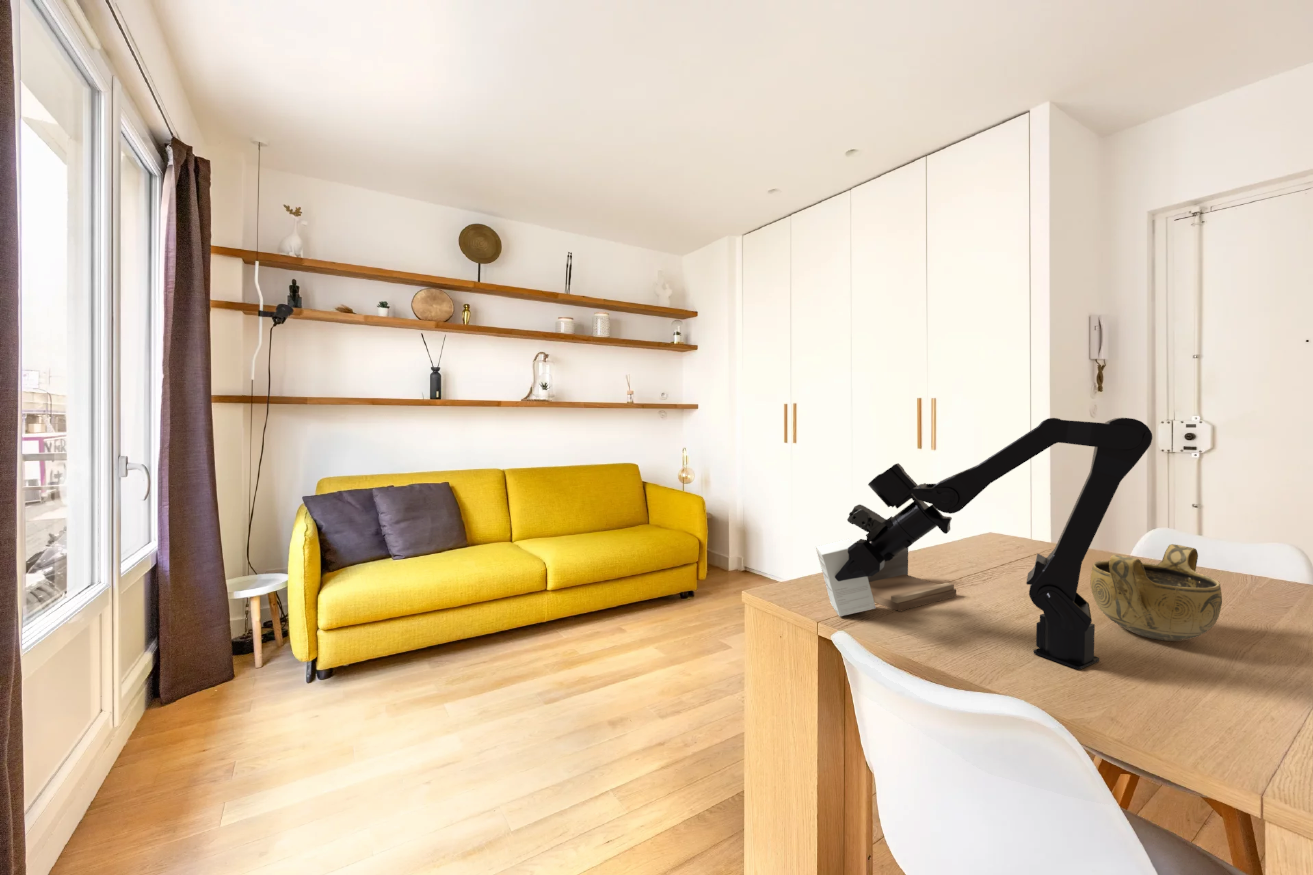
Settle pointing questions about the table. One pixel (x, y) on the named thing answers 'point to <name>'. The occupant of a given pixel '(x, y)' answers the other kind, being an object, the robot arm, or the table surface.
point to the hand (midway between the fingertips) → (844, 573)
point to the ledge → (905, 586)
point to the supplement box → (847, 592)
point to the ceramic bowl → (1158, 595)
